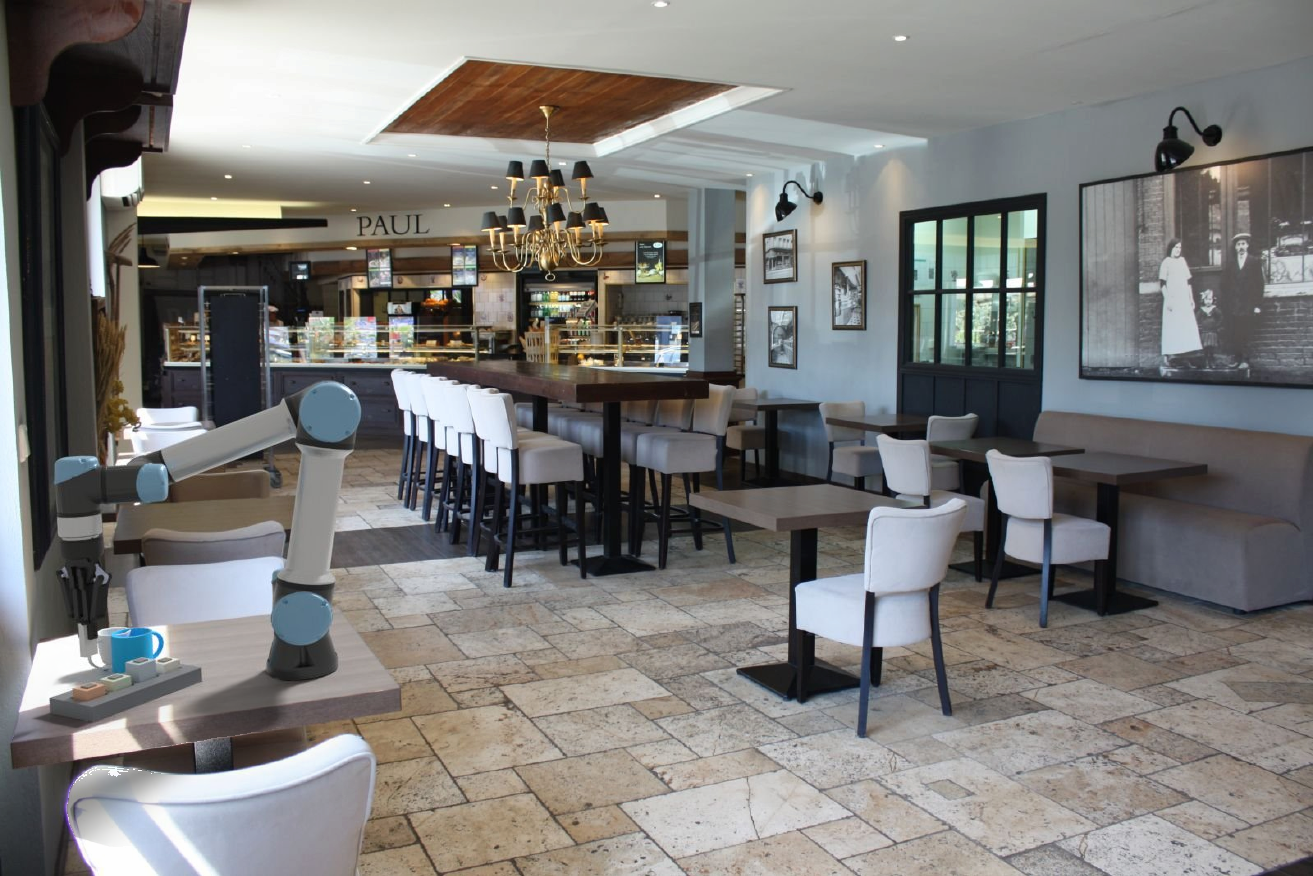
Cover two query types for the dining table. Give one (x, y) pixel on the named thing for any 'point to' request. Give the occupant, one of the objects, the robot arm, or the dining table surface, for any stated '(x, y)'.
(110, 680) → the pale green square block
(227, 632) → the dining table surface
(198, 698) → the dining table surface
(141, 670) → the key blue
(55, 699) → the grey board
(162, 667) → the key ivory
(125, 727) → the dining table surface
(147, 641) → the mug
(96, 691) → the orange hollow cube
